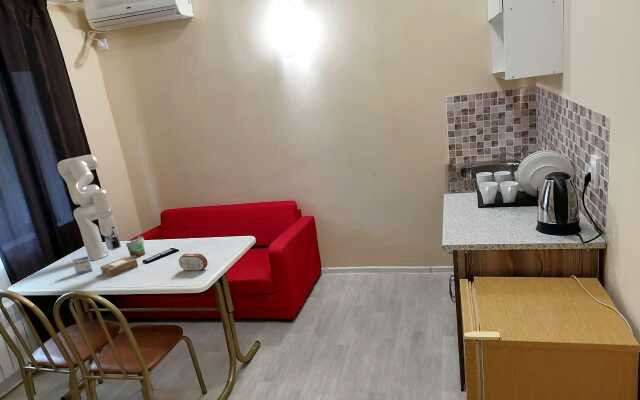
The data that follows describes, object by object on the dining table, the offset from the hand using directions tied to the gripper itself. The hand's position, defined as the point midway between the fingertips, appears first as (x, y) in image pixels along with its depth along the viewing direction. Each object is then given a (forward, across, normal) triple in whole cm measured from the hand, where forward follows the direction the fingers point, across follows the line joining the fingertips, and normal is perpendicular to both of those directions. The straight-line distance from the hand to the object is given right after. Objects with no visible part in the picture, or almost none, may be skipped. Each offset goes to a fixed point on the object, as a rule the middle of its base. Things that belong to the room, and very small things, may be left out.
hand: (114, 246), depth 241 cm
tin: (+14, +45, +16) cm, 50 cm away
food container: (+13, -11, +18) cm, 25 cm away
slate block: (+1, 0, 0) cm, 1 cm away
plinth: (+13, 0, 0) cm, 13 cm away
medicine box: (+13, -21, -10) cm, 27 cm away
